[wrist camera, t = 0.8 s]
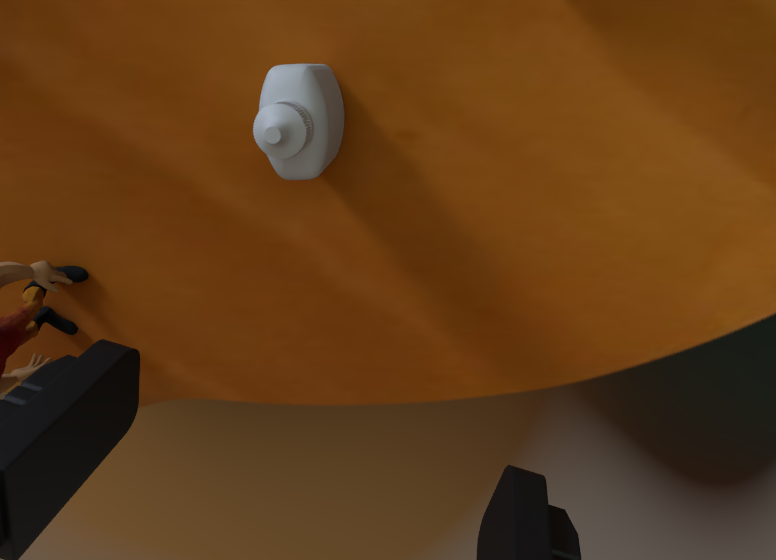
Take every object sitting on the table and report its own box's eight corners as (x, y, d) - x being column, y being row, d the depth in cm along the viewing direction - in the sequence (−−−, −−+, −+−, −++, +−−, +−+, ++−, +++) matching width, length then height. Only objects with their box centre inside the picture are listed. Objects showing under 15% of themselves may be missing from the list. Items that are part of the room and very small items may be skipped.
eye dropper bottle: (369, 87, 35) (348, 97, 24) (329, 170, 37) (293, 217, 25) (303, 51, 34) (249, 44, 23) (266, 138, 36) (200, 171, 25)
